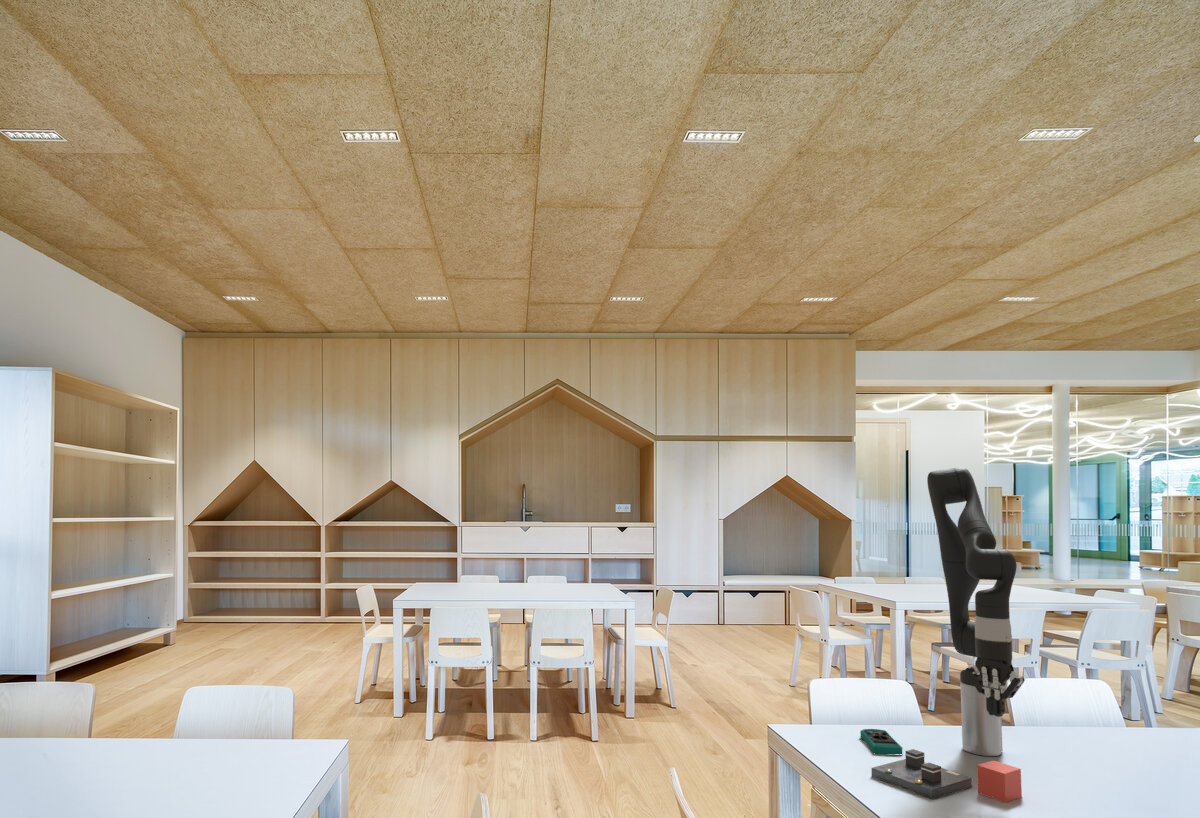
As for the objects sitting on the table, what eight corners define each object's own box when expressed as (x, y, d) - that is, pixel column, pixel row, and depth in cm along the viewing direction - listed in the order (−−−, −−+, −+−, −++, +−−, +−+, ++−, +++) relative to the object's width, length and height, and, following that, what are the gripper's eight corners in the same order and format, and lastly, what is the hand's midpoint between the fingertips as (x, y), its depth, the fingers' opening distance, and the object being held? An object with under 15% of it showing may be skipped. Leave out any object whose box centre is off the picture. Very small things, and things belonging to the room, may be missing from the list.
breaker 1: (913, 761, 188) (913, 749, 188) (924, 765, 185) (924, 752, 186) (905, 764, 186) (905, 751, 187) (916, 767, 184) (916, 754, 184)
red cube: (994, 787, 178) (993, 760, 178) (1021, 796, 172) (1020, 768, 173) (978, 792, 174) (977, 765, 175) (1005, 802, 169) (1004, 773, 169)
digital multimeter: (886, 739, 213) (886, 728, 214) (903, 757, 199) (903, 745, 199) (859, 738, 214) (859, 727, 214) (874, 756, 199) (874, 744, 200)
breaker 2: (929, 775, 178) (929, 762, 179) (941, 780, 176) (941, 766, 176) (921, 778, 177) (920, 764, 177) (933, 782, 174) (933, 768, 174)
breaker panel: (911, 765, 191) (910, 754, 191) (972, 786, 178) (971, 775, 178) (871, 776, 183) (871, 765, 183) (932, 799, 170) (931, 787, 170)
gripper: (956, 633, 181) (958, 710, 179) (1012, 643, 170) (1015, 725, 167) (975, 631, 185) (977, 706, 183) (1031, 640, 173) (1034, 720, 171)
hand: (995, 715), depth 175 cm, fingers closed
